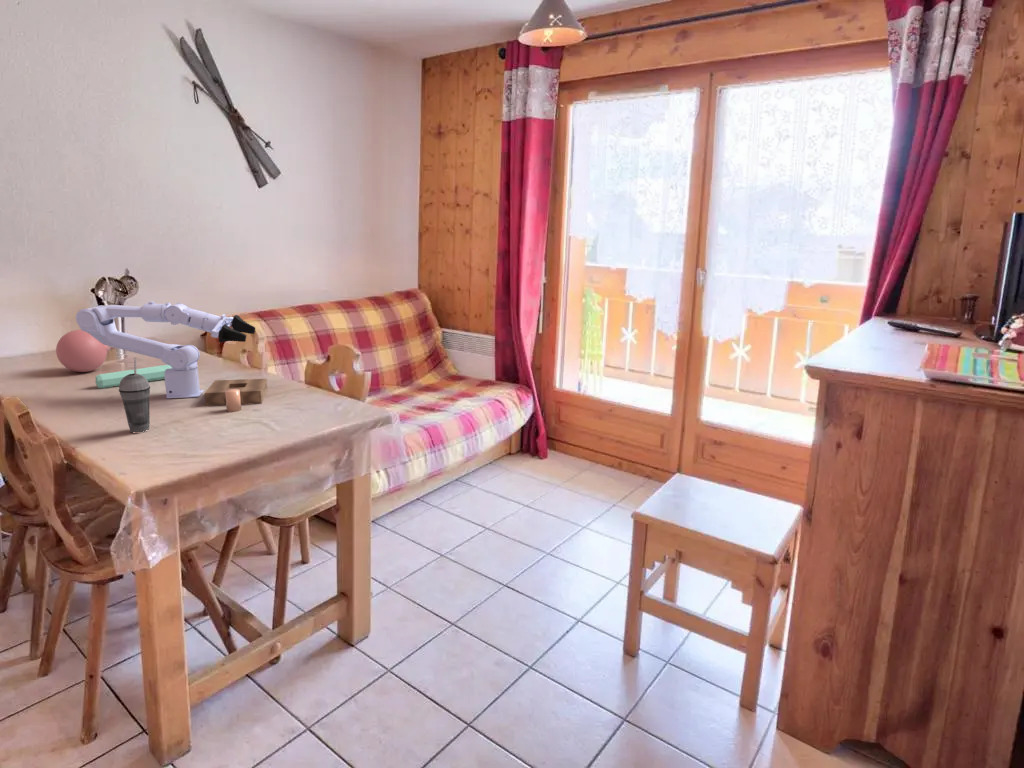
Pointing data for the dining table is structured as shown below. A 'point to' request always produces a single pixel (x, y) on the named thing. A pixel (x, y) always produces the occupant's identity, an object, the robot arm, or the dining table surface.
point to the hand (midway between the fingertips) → (250, 334)
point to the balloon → (81, 351)
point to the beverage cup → (136, 400)
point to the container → (116, 377)
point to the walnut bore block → (248, 388)
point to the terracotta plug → (233, 400)
